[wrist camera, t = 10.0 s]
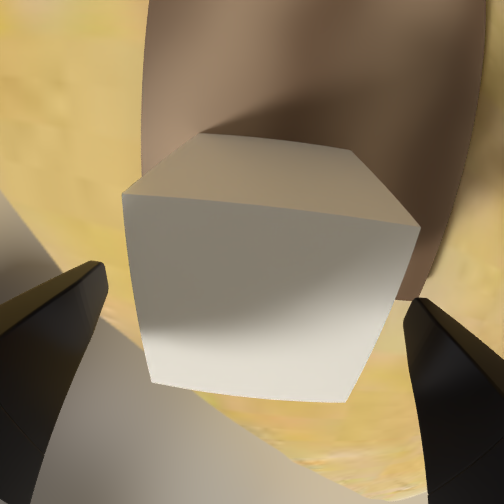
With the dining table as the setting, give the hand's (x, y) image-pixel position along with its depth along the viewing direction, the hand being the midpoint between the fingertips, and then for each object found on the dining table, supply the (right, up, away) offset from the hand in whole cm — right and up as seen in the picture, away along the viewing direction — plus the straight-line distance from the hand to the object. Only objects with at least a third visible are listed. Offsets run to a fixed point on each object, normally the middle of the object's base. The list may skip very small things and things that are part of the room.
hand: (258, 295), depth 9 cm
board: (+3, +8, +3) cm, 9 cm away
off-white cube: (0, +3, +5) cm, 6 cm away
